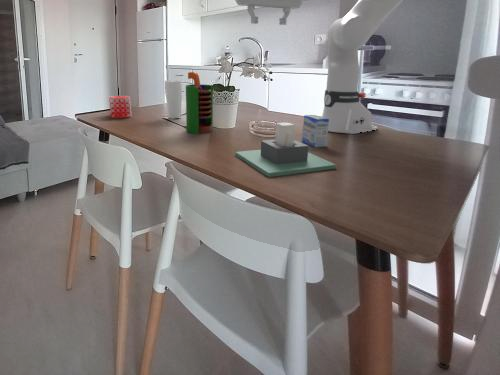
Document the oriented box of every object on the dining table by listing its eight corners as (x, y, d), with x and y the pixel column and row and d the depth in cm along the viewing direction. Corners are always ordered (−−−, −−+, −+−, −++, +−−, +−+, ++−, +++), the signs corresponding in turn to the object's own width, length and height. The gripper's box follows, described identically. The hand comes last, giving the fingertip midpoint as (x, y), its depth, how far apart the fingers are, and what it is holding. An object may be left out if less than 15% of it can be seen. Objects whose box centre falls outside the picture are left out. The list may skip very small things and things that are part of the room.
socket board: (294, 149, 110) (295, 132, 109) (335, 168, 93) (337, 149, 92) (235, 155, 103) (235, 137, 101) (268, 177, 86) (269, 156, 84)
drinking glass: (164, 118, 153) (161, 81, 148) (170, 116, 159) (168, 80, 154) (179, 119, 152) (178, 81, 147) (185, 117, 158) (183, 80, 153)
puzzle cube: (131, 117, 156) (129, 98, 153) (111, 117, 154) (109, 98, 151) (131, 114, 163) (129, 95, 160) (112, 114, 161) (110, 96, 158)
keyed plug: (286, 155, 100) (287, 122, 97) (294, 160, 96) (297, 125, 93) (274, 156, 99) (276, 123, 95) (282, 161, 95) (284, 126, 92)
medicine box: (301, 141, 120) (303, 115, 117) (313, 140, 122) (315, 114, 119) (314, 147, 113) (317, 119, 110) (326, 146, 115) (329, 118, 112)
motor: (207, 134, 127) (205, 73, 120) (182, 132, 129) (179, 72, 122) (215, 128, 137) (214, 72, 130) (192, 127, 138) (190, 71, 131)
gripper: (241, -36, 98) (241, 22, 103) (306, -28, 106) (303, 24, 111) (231, -31, 104) (232, 23, 108) (294, -24, 112) (292, 26, 117)
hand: (268, 24), depth 110 cm, fingers open, 8 cm apart
